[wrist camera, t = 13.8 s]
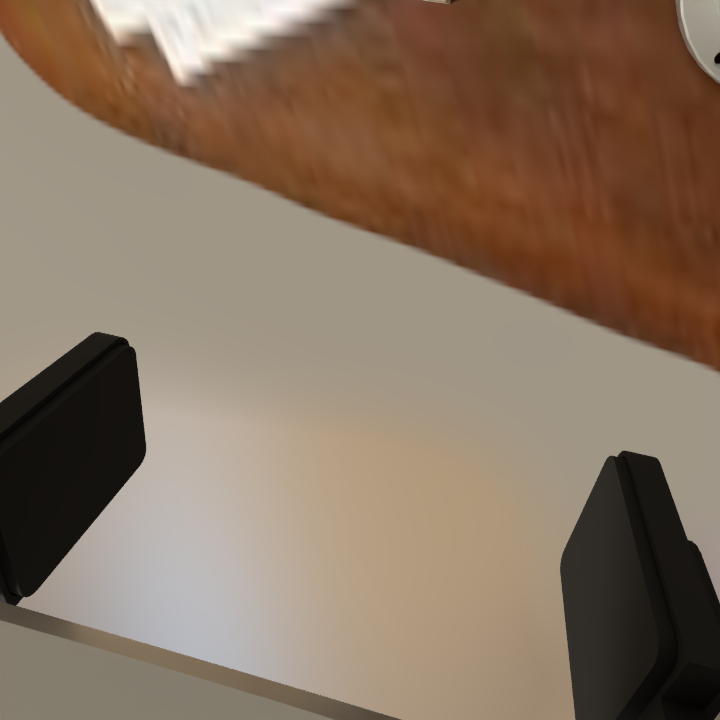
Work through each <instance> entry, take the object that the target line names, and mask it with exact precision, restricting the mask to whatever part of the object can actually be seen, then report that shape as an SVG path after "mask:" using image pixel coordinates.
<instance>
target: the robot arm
mask: <svg viewBox="0 0 720 720" xmlns="http://www.w3.org/2000/svg"><path fill="white" fill-rule="evenodd" d="M675 2H676V9H677V16H678V22H679V28H680V30H681V33H682V36H683V38H684V41H685V44H686V46H687V49H688V50H689V52H690V53H691V55H692V56H693V58H694V59H695V61H696V62H697V64H698V65H699V67H700V68H701V69H702V70H703V71H705V72H706V73H707V74H708V75H709V76H710V77H711V78H713V79H714V80H715V81H716V82H717V83H719V84H720V62H719V63H717V64H716V63H715V62H714V58H715V56H716V55H717V54H718V53H720V0H675ZM145 454H146V441H145V432H144V423H143V415H142V405H141V396H140V387H139V378H138V368H137V360H136V352H135V350H134V348H133V347H130V346H129V343H128V341H127V340H126V339H125V338H123V337H118V336H114V335H109V334H105V333H101V332H95V333H93V334H91V335H90V336H89V337H87V338H86V339H85V340H84V341H82V342H81V343H79V344H78V345H77V346H75V347H74V348H73V349H71V350H70V351H69V352H67V353H66V354H65V355H63V356H62V357H61V358H59V359H58V360H57V361H55V362H54V363H53V364H51V365H50V366H49V367H47V368H46V369H45V370H43V371H42V372H41V373H40V374H38V375H37V376H35V377H34V378H33V379H31V380H30V381H29V382H27V383H26V384H25V385H24V386H22V387H21V388H19V389H18V390H17V391H15V392H14V393H13V394H11V395H10V396H9V397H7V398H6V399H5V400H3V401H2V402H1V403H0V720H401V719H398V718H394V717H391V716H388V715H384V714H381V713H377V712H374V711H371V710H367V709H364V708H361V707H358V706H354V705H351V704H348V703H344V702H341V701H338V700H335V699H331V698H328V697H324V696H321V695H318V694H315V693H311V692H308V691H305V690H301V689H297V688H294V687H291V686H288V685H284V684H281V683H278V682H274V681H271V680H267V679H264V678H261V677H257V676H254V675H250V674H247V673H244V672H240V671H237V670H234V669H230V668H227V667H224V666H220V665H217V664H213V663H210V662H206V661H203V660H200V659H196V658H193V657H190V656H186V655H183V654H179V653H176V652H173V651H169V650H166V649H163V648H159V647H155V646H152V645H149V644H146V643H142V642H138V641H135V640H132V639H128V638H124V637H121V636H118V635H114V634H110V633H107V632H104V631H101V630H97V629H94V628H90V627H87V626H83V625H80V624H76V623H73V622H70V621H66V620H63V619H59V618H56V617H52V616H49V615H45V614H42V613H39V612H35V611H32V610H28V609H25V608H21V607H18V606H16V605H17V604H18V603H19V601H20V600H21V599H22V598H23V597H28V596H31V595H32V594H34V593H35V592H36V591H37V590H38V588H39V587H40V586H41V585H42V584H43V582H44V581H45V580H46V579H47V578H48V576H49V575H50V574H51V573H52V571H53V570H54V569H55V568H56V566H57V565H58V564H59V563H60V562H61V561H62V559H63V558H64V557H65V556H66V555H67V553H68V552H69V551H70V550H71V549H72V547H73V546H74V544H76V542H77V541H78V540H79V539H80V538H81V536H82V535H83V534H84V533H85V531H86V530H87V529H88V528H89V527H90V526H91V524H92V523H93V522H94V521H95V519H96V518H97V517H98V516H99V515H100V513H101V512H102V511H103V510H104V509H105V507H106V506H107V505H108V504H109V503H110V501H111V500H112V499H113V498H114V496H115V495H116V494H117V493H118V492H119V490H120V489H121V488H122V487H123V486H124V484H125V483H126V482H127V481H128V480H129V478H130V477H131V476H132V475H133V473H134V472H135V471H136V470H137V469H138V467H139V466H140V465H141V463H142V462H143V459H144V457H145ZM560 573H561V582H562V593H563V602H564V612H565V622H566V631H567V641H568V650H569V661H570V670H571V680H572V690H573V699H574V709H575V719H576V720H720V603H719V600H718V598H717V595H716V592H715V590H714V587H713V584H712V582H711V579H710V576H709V573H708V571H707V568H706V565H705V563H704V560H703V558H702V555H701V552H700V551H699V549H698V547H697V545H696V544H694V543H693V542H692V541H689V540H687V537H686V534H685V531H684V528H683V526H682V523H681V520H680V518H679V514H678V512H677V509H676V506H675V503H674V500H673V498H672V495H671V492H670V489H669V486H668V484H667V481H666V478H665V476H664V472H663V470H662V467H661V464H660V462H659V460H658V459H657V458H655V457H651V456H647V455H642V454H638V453H633V452H628V451H622V452H621V453H620V454H619V455H618V457H615V456H609V457H608V458H607V460H606V462H605V463H604V466H603V468H602V470H601V472H600V474H599V476H598V478H597V481H596V483H595V485H594V487H593V489H592V491H591V493H590V496H589V498H588V500H587V502H586V504H585V506H584V508H583V511H582V513H581V515H580V517H579V519H578V521H577V524H576V526H575V528H574V530H573V532H572V534H571V536H570V539H569V541H568V543H567V545H566V547H565V550H564V552H563V555H562V558H561V567H560Z"/></svg>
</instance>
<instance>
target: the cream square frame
mask: <svg viewBox="0 0 720 720" xmlns="http://www.w3.org/2000/svg"><path fill="white" fill-rule="evenodd" d="M424 1H431V2H439V3H446V4H450V1H451V0H424Z"/></svg>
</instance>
